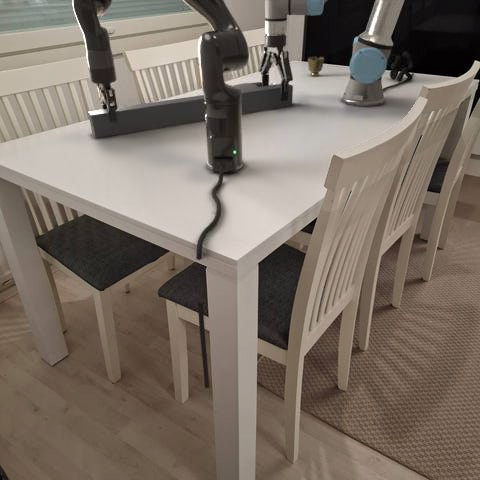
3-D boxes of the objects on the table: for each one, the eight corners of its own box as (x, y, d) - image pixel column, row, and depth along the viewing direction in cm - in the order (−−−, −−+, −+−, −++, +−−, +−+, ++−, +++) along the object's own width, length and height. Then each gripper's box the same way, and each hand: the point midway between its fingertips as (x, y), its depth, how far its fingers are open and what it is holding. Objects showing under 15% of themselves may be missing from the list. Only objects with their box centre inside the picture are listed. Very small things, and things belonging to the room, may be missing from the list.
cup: (304, 76, 210) (305, 58, 205) (310, 73, 215) (311, 55, 211) (319, 77, 207) (321, 59, 202) (324, 74, 212) (326, 56, 208)
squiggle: (400, 92, 202) (376, 71, 205) (417, 76, 202) (392, 56, 205) (405, 81, 191) (380, 59, 194) (423, 64, 191) (397, 42, 194)
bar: (95, 138, 141) (90, 115, 137) (92, 134, 144) (87, 111, 140) (292, 105, 168) (293, 85, 165) (285, 102, 172) (286, 83, 168)
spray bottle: (223, 95, 183) (259, 84, 199) (243, 99, 177) (279, 87, 193) (222, 87, 181) (259, 77, 197) (243, 91, 175) (279, 80, 191)
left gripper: (119, 67, 130) (128, 122, 139) (108, 60, 141) (116, 111, 149) (93, 70, 127) (104, 126, 136) (84, 62, 138) (94, 115, 146)
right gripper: (305, 37, 147) (301, 102, 158) (266, 29, 166) (266, 88, 177) (285, 39, 144) (283, 105, 155) (249, 31, 163) (249, 90, 174)
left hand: (110, 118), depth 143 cm, fingers open, 8 cm apart
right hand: (274, 96), depth 166 cm, fingers open, 13 cm apart
